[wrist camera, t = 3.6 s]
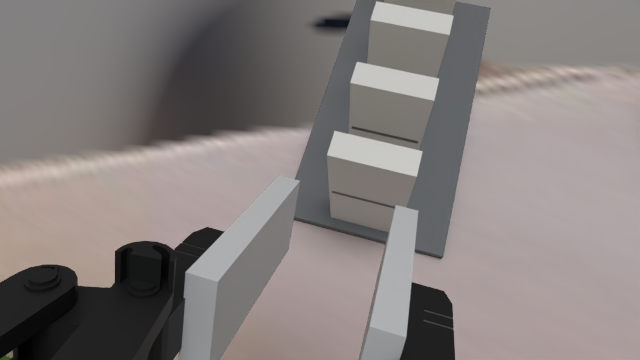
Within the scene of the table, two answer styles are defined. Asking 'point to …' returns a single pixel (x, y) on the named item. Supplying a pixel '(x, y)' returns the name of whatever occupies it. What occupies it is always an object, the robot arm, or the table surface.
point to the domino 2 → (408, 38)
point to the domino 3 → (390, 104)
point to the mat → (437, 143)
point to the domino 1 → (427, 5)
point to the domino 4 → (369, 179)
